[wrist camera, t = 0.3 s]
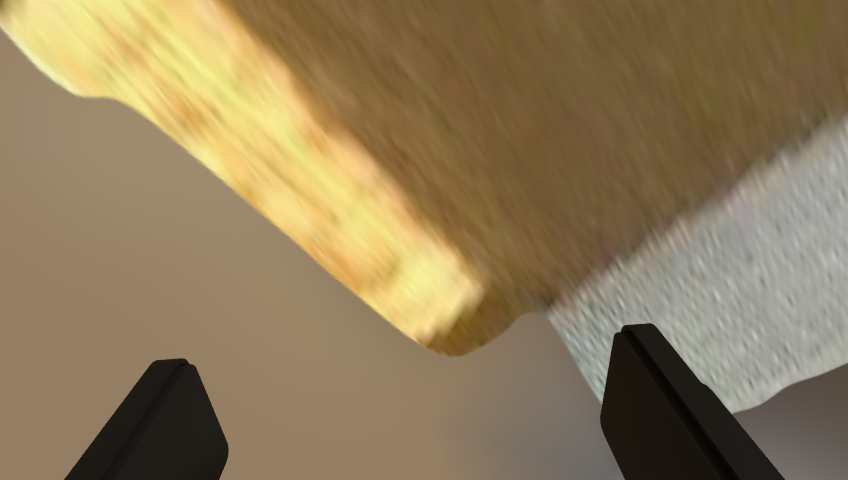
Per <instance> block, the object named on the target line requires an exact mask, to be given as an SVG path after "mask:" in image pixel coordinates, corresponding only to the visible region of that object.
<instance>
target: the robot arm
mask: <svg viewBox="0 0 848 480" xmlns="http://www.w3.org/2000/svg"><path fill="white" fill-rule="evenodd" d="M600 420H601V427H602V430H603V433H604V436H605V437H606V440H607V442H608V444H609V446H610V448H611V451H612V452H613V455H614V457H615V459H616V461H617V463H618V465H619V468H620V470H621V472H622V474H623V476H624V478H625V480H785V479H784V478H783V477H782V475H781V474H780V473H779V472H778V470H777V469H776V468H775V467H774V466H773V464H772V463H771V462H770V461H769V459H768V458H767V457H766V456H765V455H764V453H763V452H762V451H761V450H760V449H759V448H758V446H757V445H756V444H755V442H754V441H753V440H752V439H751V437H750V436H749V435H748V434H747V433H746V431H745V430H744V429H743V428H742V427H741V425H740V424H739V423H738V422H737V420H736V419H735V418H734V417H733V415H732V414H731V413H730V412H729V411H728V409H727V408H726V407H725V406H724V404H723V403H722V402H721V401H720V400H719V398H718V397H717V396H716V395H715V393H714V392H713V391H712V390H711V389H710V388H709V387H708V386H706V385H705V384H703V383H701V382H700V381H699V379H698V378H697V377H696V376H695V374H694V373H693V372H692V371H691V369H690V368H689V367H688V366H687V364H686V363H685V362H684V361H683V359H682V358H681V357H680V356H679V354H678V353H677V352H676V351H675V350H674V348H673V347H672V346H671V345H670V343H669V342H668V341H667V340H666V338H665V337H664V336H663V335H662V333H661V332H660V331H659V330H658V328H657V327H656V326H655V325H653V324H651V323H648V324H635V325H625V326H623V328H622V330H621V332H618V333H615V335H614V339H613V345H612V350H611V356H610V362H609V368H608V374H607V380H606V386H605V392H604V398H603V404H602V410H601V416H600ZM227 458H228V443H227V441H226V438H225V436H224V434H223V431H222V429H221V426H220V424H219V422H218V419H217V417H216V415H215V412H214V410H213V407H212V405H211V402H210V400H209V397H208V395H207V393H206V390H205V388H204V385H203V383H202V381H201V378H200V376H199V373H198V371H197V369H196V367H195V366H194V365H192V364H189V363H188V361H187V360H186V359H181V358H180V359H168V360H157V361H155V362H153V363H152V364H151V365H150V366H149V367H148V369H147V370H146V371H145V373H144V374H143V376H142V377H141V378H140V379H139V381H138V382H137V383H136V385H135V386H134V387H133V389H132V390H131V391H130V393H129V394H128V396H127V397H126V398H125V399H124V401H123V402H122V403H121V405H120V406H119V407H118V409H117V410H116V411H115V413H114V414H113V415H112V417H111V418H110V419H109V421H108V422H107V423H106V425H105V426H104V427H103V429H102V430H101V431H100V433H99V434H98V435H97V437H96V438H95V439H94V441H93V442H92V443H91V445H90V446H89V447H88V449H87V450H86V451H85V453H84V454H83V455H82V457H81V458H80V459H79V461H78V462H77V463H76V465H75V466H74V467H73V469H72V470H71V471H70V473H69V474H68V475H67V477H66V478H65V479H64V480H219V479H220V476H221V474H222V471H223V469H224V467H225V464H226V461H227Z"/></svg>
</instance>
